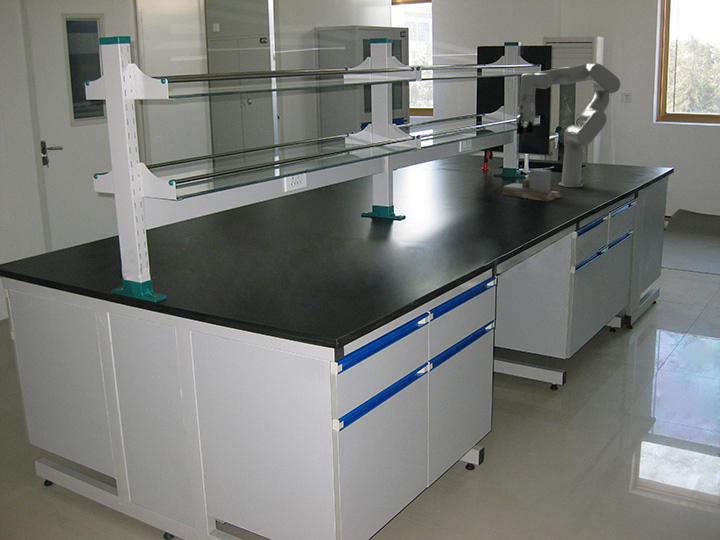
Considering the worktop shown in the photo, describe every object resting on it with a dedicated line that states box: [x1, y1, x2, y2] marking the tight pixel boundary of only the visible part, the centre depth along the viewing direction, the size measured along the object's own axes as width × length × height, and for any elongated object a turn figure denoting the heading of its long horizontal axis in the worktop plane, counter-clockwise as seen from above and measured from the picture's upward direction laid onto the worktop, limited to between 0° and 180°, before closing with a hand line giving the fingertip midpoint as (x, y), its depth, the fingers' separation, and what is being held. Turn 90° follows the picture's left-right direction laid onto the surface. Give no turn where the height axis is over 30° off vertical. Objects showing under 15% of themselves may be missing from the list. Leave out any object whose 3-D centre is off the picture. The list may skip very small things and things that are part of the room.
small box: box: [529, 168, 552, 193], centre depth 369 cm, size 8×6×13 cm
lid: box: [503, 177, 530, 190], centre depth 376 cm, size 10×12×5 cm
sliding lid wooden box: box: [502, 183, 562, 202], centre depth 372 cm, size 14×24×4 cm, turn 49°
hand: (524, 133), depth 386 cm, fingers open, 9 cm apart
